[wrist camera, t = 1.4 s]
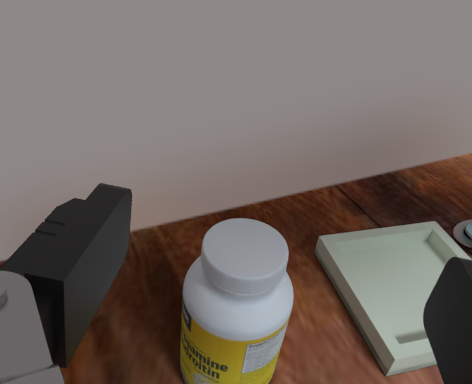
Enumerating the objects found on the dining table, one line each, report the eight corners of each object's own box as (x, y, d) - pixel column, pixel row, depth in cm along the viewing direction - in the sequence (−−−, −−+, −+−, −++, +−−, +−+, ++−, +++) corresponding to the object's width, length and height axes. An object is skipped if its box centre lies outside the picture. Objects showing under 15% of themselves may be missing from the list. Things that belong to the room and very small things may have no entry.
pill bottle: (172, 334, 32) (175, 211, 25) (257, 320, 34) (281, 202, 27) (188, 423, 27) (197, 301, 20) (286, 401, 29) (324, 283, 22)
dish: (427, 236, 44) (435, 221, 42) (522, 344, 34) (536, 327, 33) (314, 252, 40) (319, 236, 39) (385, 376, 31) (395, 359, 30)
